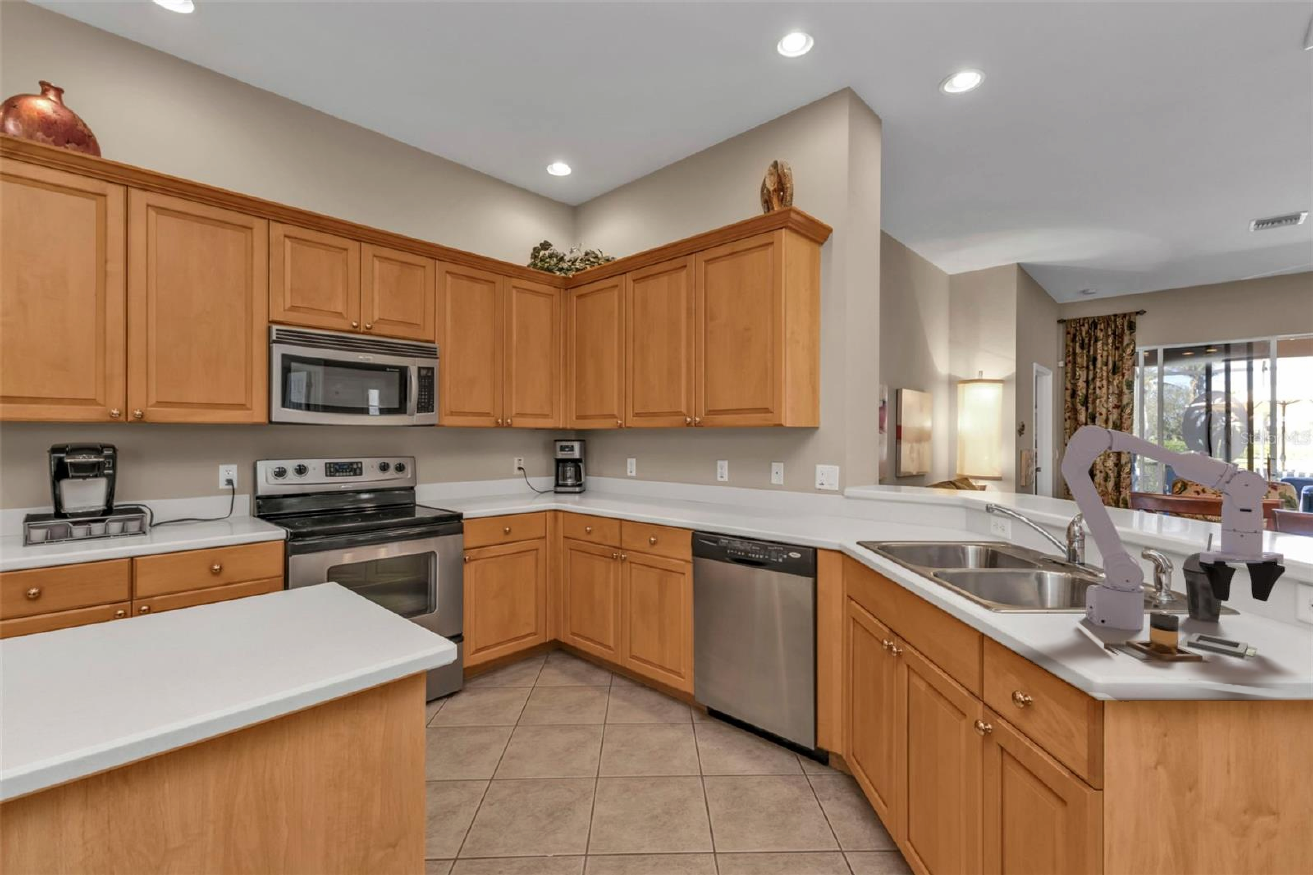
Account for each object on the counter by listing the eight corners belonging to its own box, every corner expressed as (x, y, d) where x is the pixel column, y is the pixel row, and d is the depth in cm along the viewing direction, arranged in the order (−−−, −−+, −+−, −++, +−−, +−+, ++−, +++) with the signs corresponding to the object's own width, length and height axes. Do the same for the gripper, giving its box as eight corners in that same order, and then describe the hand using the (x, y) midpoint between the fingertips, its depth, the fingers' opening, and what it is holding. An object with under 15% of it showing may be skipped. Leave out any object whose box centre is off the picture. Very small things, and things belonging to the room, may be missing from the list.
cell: (1155, 655, 105) (1156, 614, 105) (1145, 647, 109) (1146, 607, 109) (1182, 658, 104) (1183, 616, 104) (1171, 650, 108) (1172, 610, 108)
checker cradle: (1252, 666, 103) (1252, 656, 103) (1177, 650, 111) (1177, 640, 111) (1257, 653, 109) (1257, 643, 109) (1186, 638, 117) (1186, 629, 117)
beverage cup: (1172, 617, 131) (1174, 529, 130) (1207, 618, 130) (1208, 530, 130) (1199, 628, 123) (1201, 535, 123) (1236, 629, 123) (1238, 536, 122)
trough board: (1143, 667, 102) (1144, 657, 102) (1103, 648, 111) (1104, 639, 111) (1210, 667, 102) (1210, 657, 102) (1164, 648, 111) (1164, 639, 111)
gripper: (1224, 534, 108) (1223, 605, 108) (1301, 534, 108) (1300, 606, 108) (1190, 527, 115) (1189, 595, 115) (1262, 528, 115) (1261, 595, 115)
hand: (1240, 599), depth 112 cm, fingers open, 7 cm apart
